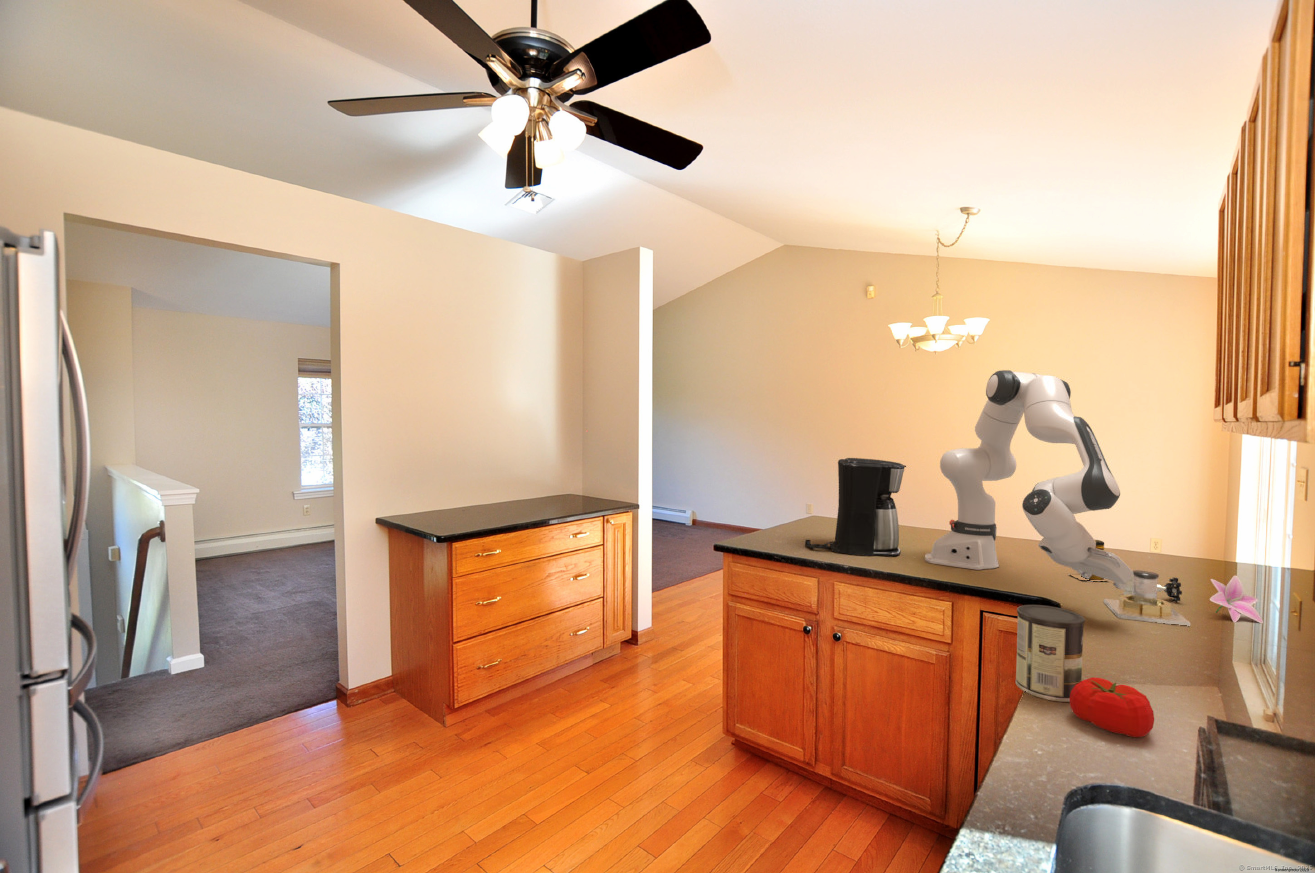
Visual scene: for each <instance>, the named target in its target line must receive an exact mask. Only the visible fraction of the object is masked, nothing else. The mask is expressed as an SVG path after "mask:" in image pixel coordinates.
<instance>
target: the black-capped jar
mask: <svg viewBox="0 0 1315 873" xmlns="http://www.w3.org/2000/svg"><path fill="white" fill-rule="evenodd" d="M1132 571H1133V595H1132V601H1133V602H1137V603H1141V604H1148V605H1156V604H1157V599H1158V597H1157V596H1158V591H1157V585H1158V579H1159V576H1160V574H1159V573H1156V572H1153V571H1148V570H1139V569H1138V570H1132Z"/></svg>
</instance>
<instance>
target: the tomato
mask: <svg viewBox="0 0 1315 873" xmlns="http://www.w3.org/2000/svg"><path fill="white" fill-rule="evenodd" d="M1069 700H1070V702H1069V706H1070V709H1071V711H1072V713H1073V714H1074V715H1075V717H1077V718H1079V719H1080V720H1082V721H1084V722H1088V723H1091V724H1093V725H1095V726H1096V727H1097V728H1101V729H1103V730H1105V731H1107V732H1112V733H1115V734H1121V735H1122V734H1123V735H1125V736H1127V737H1131V738H1141V737H1145V736H1147V735H1148V734H1149V733H1150V732H1151V731H1152V730H1153V728H1154V723H1155V715H1154V714H1155V713H1154V709H1153V708H1152V706H1151V703H1150V700H1149V699H1148V697H1147V695H1145V694H1143V692H1140V691H1139V690H1138V689H1136V688H1135V687H1133V686H1130V685H1127V684H1118V685H1117V682H1115V683H1113V682H1112V681H1110V680H1108V679H1104V678H1102V677H1089V678H1086V679H1082V681H1081V682H1080V683H1078V684H1076V685H1075V686H1074V688H1073V689H1072V691H1071V694H1070V698H1069Z"/></svg>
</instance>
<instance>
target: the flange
mask: <svg viewBox="0 0 1315 873" xmlns="http://www.w3.org/2000/svg"><path fill="white" fill-rule="evenodd" d="M1118 598H1119V599H1110V598H1103V603H1104V604H1105V605H1106V606H1107V607H1108V608H1109V610H1110V611H1111V612H1112V613H1113V614H1114V615H1115V617H1117V618H1118V619H1124V620H1130V621H1131V620H1132V621H1141V622H1149V623H1155V622H1157V623H1156V624H1163V623H1165V624H1164V625H1171V624H1179V625H1178V626H1180V625H1187V626H1186V627H1188V626H1190V627H1191V622H1190V621H1189V620H1188V619H1187V618H1185V617H1184V616H1183V615H1182V614H1180V613H1179V612H1178V611H1177V610H1175V609H1174V608H1173V607H1172V605H1173V604H1171V603H1170V602H1168V601H1166V600H1165V599H1164V600H1163V599H1160V598H1157V604H1156V605H1148V604H1141V603H1137V602H1133V601H1132V595H1129V594H1128V595H1124V594H1122V595H1119V597H1118Z"/></svg>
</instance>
